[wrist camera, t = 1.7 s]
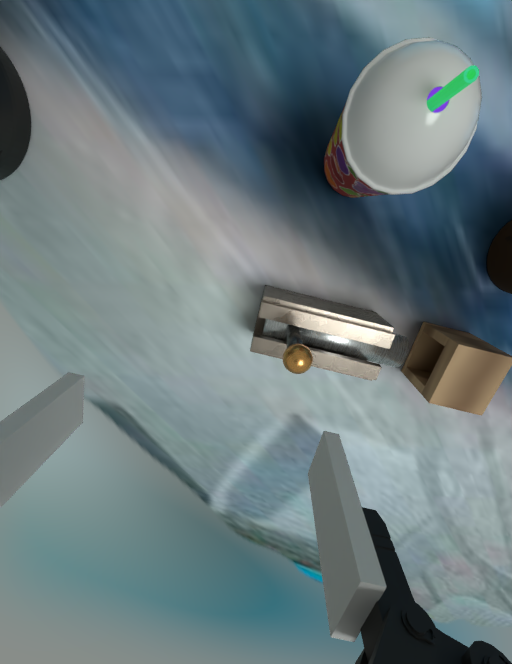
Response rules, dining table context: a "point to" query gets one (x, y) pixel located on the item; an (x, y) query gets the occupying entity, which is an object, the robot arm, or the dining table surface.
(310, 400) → the dining table surface
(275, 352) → the outer sleeve
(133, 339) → the dining table surface
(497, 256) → the olive oil
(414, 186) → the smoothie
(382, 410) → the dining table surface
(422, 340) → the socket block
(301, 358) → the ball knob lever
